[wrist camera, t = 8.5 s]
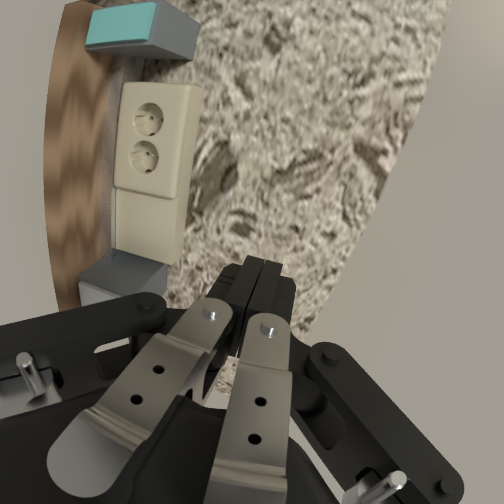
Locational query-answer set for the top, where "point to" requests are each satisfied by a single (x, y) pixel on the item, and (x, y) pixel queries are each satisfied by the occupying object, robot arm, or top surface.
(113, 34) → the module
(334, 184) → the top surface
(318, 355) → the robot arm
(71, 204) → the mounting panel
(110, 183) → the metal rail
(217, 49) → the top surface
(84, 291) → the block
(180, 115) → the electrical outlet
